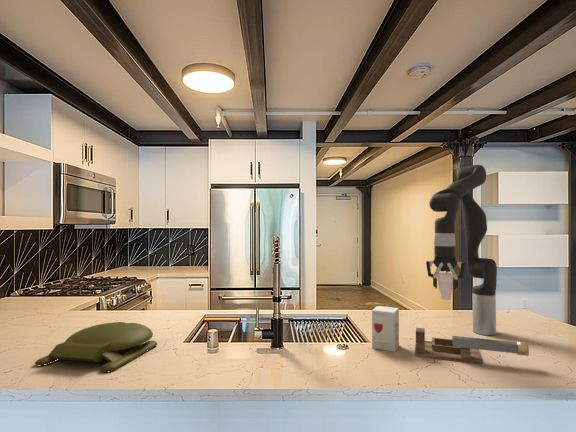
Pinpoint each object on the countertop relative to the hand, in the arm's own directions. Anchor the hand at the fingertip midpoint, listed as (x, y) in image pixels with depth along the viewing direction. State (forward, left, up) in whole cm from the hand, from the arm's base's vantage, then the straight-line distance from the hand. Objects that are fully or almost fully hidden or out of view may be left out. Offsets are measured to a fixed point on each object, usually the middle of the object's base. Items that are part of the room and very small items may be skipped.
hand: (445, 288), depth 138 cm
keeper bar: (+8, +13, -20) cm, 25 cm away
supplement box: (+4, -22, -24) cm, 33 cm away
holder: (+2, 0, -24) cm, 24 cm away
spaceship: (+49, -120, -24) cm, 132 cm away
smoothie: (0, 0, -4) cm, 4 cm away
